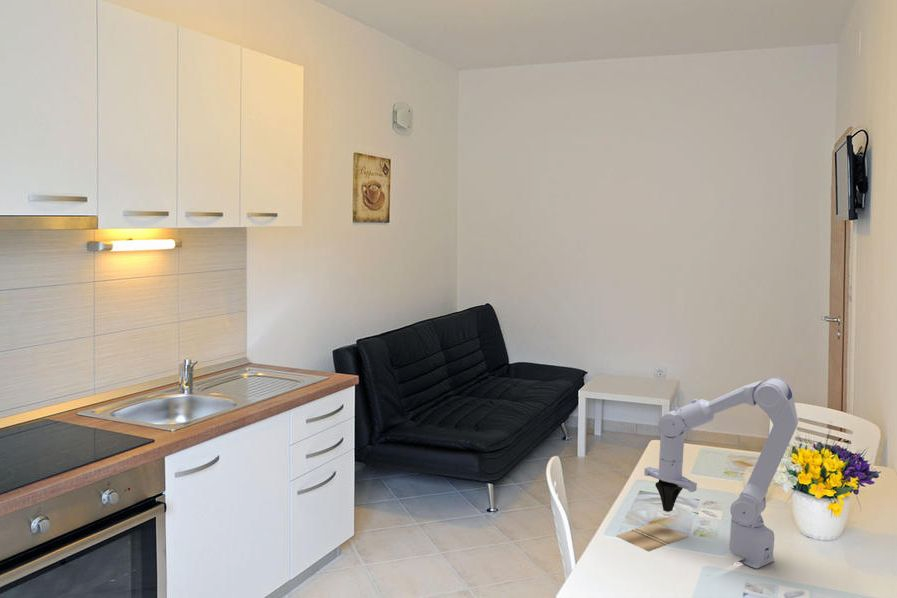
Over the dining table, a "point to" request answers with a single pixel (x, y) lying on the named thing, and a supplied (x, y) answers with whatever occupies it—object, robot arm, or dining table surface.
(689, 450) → the dining table surface
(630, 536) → the laid board
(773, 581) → the dining table surface
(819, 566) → the dining table surface
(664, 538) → the plank
